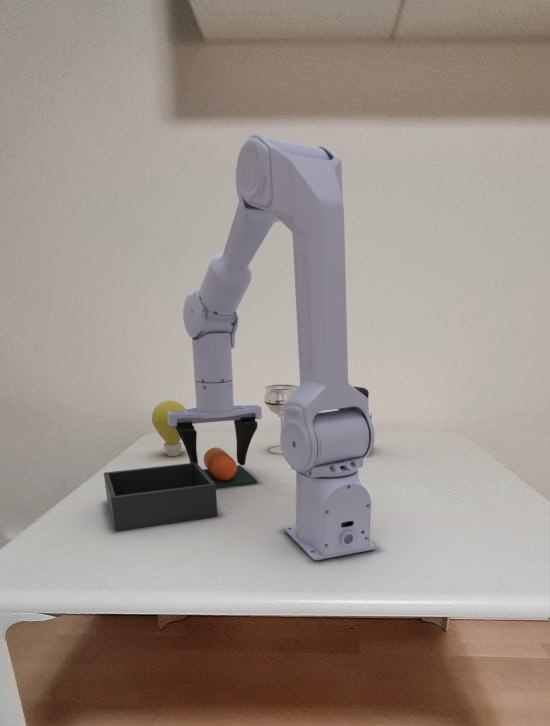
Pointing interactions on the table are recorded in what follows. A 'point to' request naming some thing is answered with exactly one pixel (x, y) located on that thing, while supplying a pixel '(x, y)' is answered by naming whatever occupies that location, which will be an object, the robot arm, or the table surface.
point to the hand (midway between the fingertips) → (218, 466)
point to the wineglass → (278, 402)
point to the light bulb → (167, 426)
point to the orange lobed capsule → (220, 464)
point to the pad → (239, 479)
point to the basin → (159, 495)
